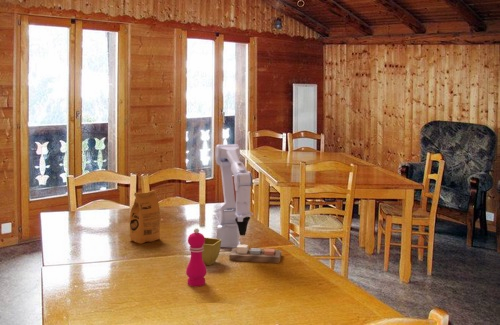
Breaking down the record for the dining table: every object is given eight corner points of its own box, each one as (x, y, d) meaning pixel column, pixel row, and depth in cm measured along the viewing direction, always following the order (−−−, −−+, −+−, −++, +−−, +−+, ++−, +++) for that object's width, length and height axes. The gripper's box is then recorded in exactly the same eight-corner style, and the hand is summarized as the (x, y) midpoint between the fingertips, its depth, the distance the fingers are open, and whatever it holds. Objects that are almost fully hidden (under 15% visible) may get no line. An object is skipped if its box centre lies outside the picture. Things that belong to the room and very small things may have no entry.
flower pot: (221, 261, 240) (221, 239, 239) (213, 267, 232) (213, 244, 231) (201, 258, 243) (201, 236, 242) (192, 264, 235) (192, 242, 233)
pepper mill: (186, 280, 217) (186, 226, 214) (206, 280, 218) (206, 225, 215) (185, 287, 210) (185, 231, 207) (206, 286, 210) (206, 231, 208)
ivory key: (236, 254, 244) (236, 247, 243) (238, 251, 248) (238, 244, 247) (246, 254, 243) (246, 247, 243) (247, 251, 247) (247, 244, 247)
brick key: (263, 258, 242) (263, 251, 242) (264, 255, 246) (264, 248, 246) (273, 259, 242) (273, 251, 242) (274, 256, 246) (274, 249, 245)
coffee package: (126, 240, 269) (125, 191, 265) (150, 235, 277) (149, 188, 274) (139, 244, 261) (138, 194, 258) (162, 239, 270) (162, 191, 267)
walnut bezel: (229, 260, 241) (229, 254, 241) (233, 252, 251) (233, 247, 251) (279, 262, 239) (279, 257, 238) (281, 255, 249) (281, 250, 248)
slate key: (250, 257, 243) (250, 250, 243) (251, 254, 247) (251, 247, 247) (260, 258, 243) (260, 251, 242) (261, 255, 247) (261, 248, 246)
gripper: (250, 206, 235) (250, 240, 237) (255, 198, 249) (254, 230, 251) (232, 205, 236) (232, 239, 238) (238, 198, 250) (237, 230, 252)
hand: (242, 235), depth 244 cm, fingers closed
